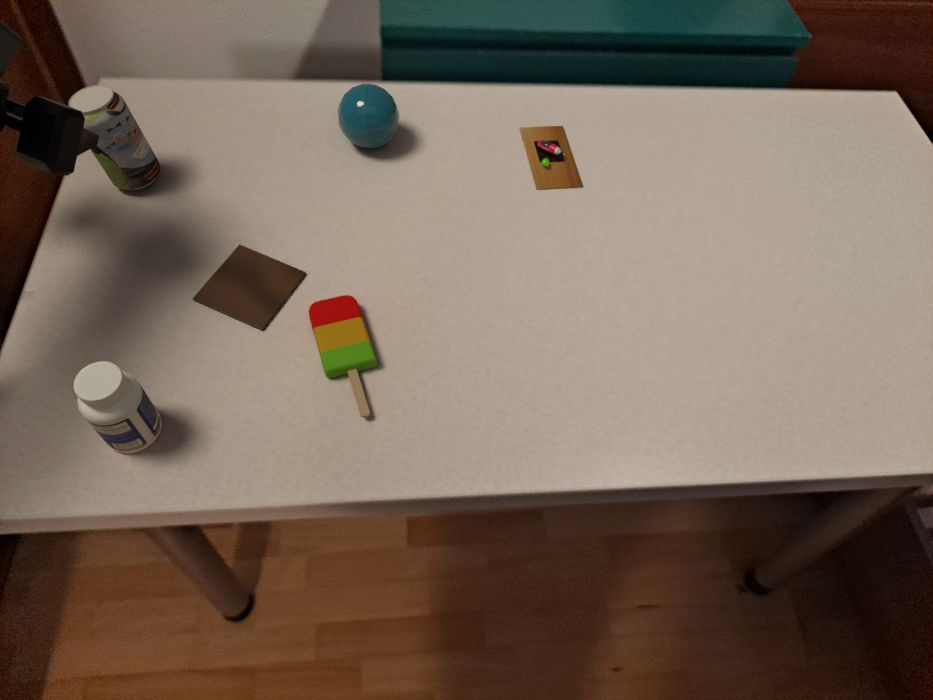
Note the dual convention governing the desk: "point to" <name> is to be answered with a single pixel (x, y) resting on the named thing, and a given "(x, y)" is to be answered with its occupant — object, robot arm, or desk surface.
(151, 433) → the pill bottle
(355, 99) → the ball
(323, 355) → the popsicle
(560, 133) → the board
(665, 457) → the desk surface
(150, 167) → the beverage can
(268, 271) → the coaster
